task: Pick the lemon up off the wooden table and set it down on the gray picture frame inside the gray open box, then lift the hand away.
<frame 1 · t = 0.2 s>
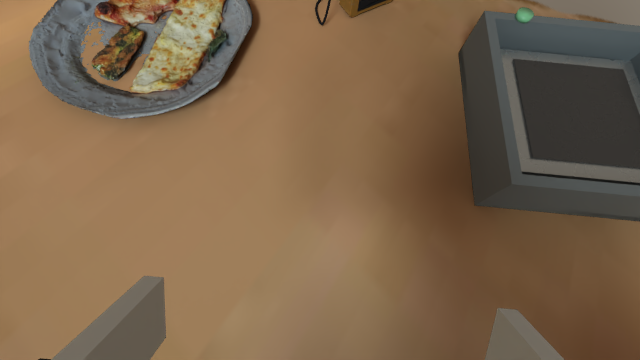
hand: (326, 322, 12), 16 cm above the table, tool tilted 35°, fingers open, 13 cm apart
food plate: (155, 39, 38), on the table
gray open box: (553, 129, 34), on the table
gray picture frame: (576, 113, 31), point 3 cm above the table, slide at -0.4 cm
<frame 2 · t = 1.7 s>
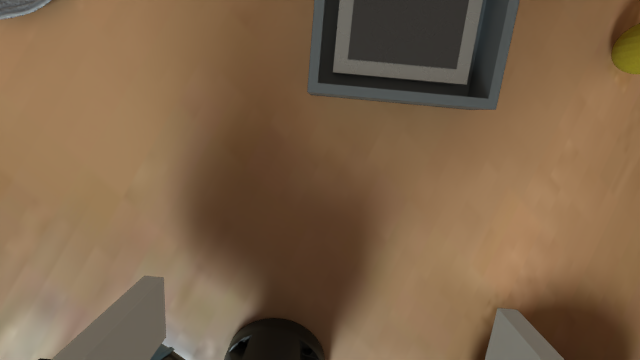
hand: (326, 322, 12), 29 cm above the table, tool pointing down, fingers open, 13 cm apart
gray open box: (402, 14, 35), on the table
lemon: (615, 53, 36), on the table
gray picture frame: (409, 5, 32), point 3 cm above the table, slide at -0.4 cm
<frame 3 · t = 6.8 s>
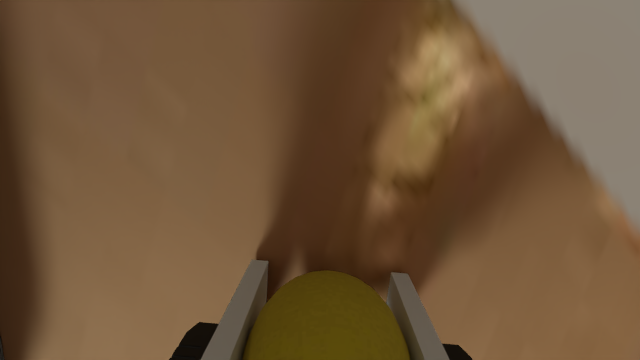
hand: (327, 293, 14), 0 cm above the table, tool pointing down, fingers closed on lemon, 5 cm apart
lemon: (326, 290, 14), on the table, touching gripper
when the fingers open (5 cm above the table, at t = 12.9 s): lemon drops 2 cm, resting on gray picture frame.
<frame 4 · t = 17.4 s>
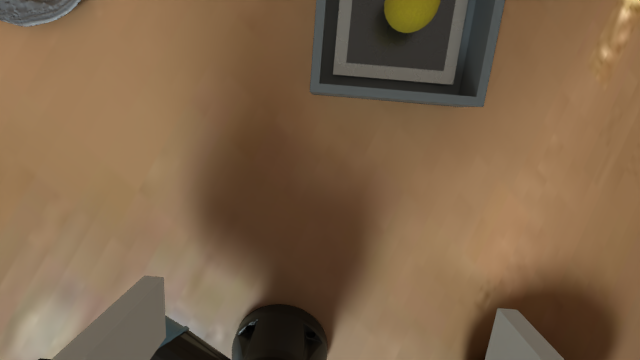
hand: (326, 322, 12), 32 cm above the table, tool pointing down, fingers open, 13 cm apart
gray open box: (397, 19, 38), on the table
lemon: (401, 15, 36), point 2 cm above the table, touching gray picture frame
gray picture frame: (400, 14, 36), point 2 cm above the table, slide at -1.6 cm, touching lemon
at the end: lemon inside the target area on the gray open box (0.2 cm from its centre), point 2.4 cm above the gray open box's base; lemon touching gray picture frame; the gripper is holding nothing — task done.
